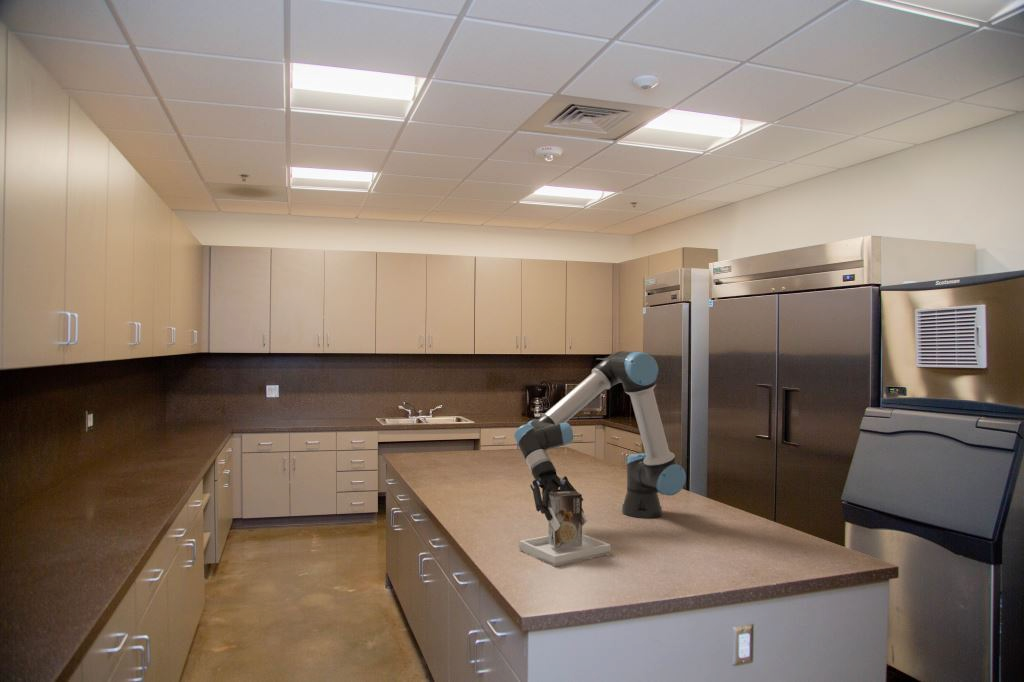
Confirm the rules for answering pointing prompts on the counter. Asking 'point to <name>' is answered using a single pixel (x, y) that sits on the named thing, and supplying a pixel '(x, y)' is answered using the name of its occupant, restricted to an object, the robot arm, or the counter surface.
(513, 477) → the counter surface
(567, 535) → the coffee box
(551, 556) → the white tray
